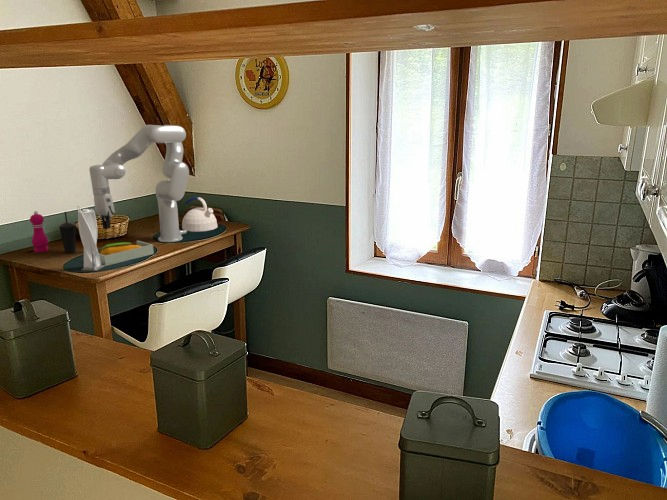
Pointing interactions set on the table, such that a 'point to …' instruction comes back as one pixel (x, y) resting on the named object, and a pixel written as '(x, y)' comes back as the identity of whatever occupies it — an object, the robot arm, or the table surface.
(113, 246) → the corn
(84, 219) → the skyscraper
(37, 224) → the pepper mill
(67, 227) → the drinking cup
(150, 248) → the bin
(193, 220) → the kettle
